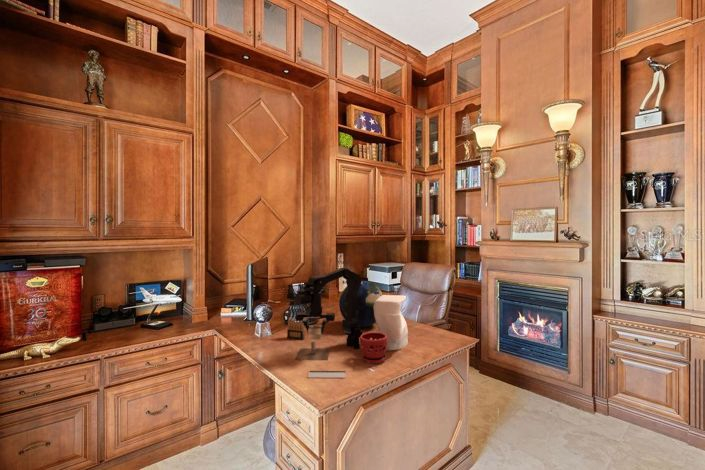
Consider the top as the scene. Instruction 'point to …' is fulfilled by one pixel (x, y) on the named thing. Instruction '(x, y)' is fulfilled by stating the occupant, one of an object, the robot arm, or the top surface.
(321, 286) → the robot arm
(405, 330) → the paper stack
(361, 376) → the top surface
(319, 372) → the mat
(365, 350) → the plant pot
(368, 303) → the globe
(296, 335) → the ammunition clip
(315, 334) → the collar
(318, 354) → the post stand
